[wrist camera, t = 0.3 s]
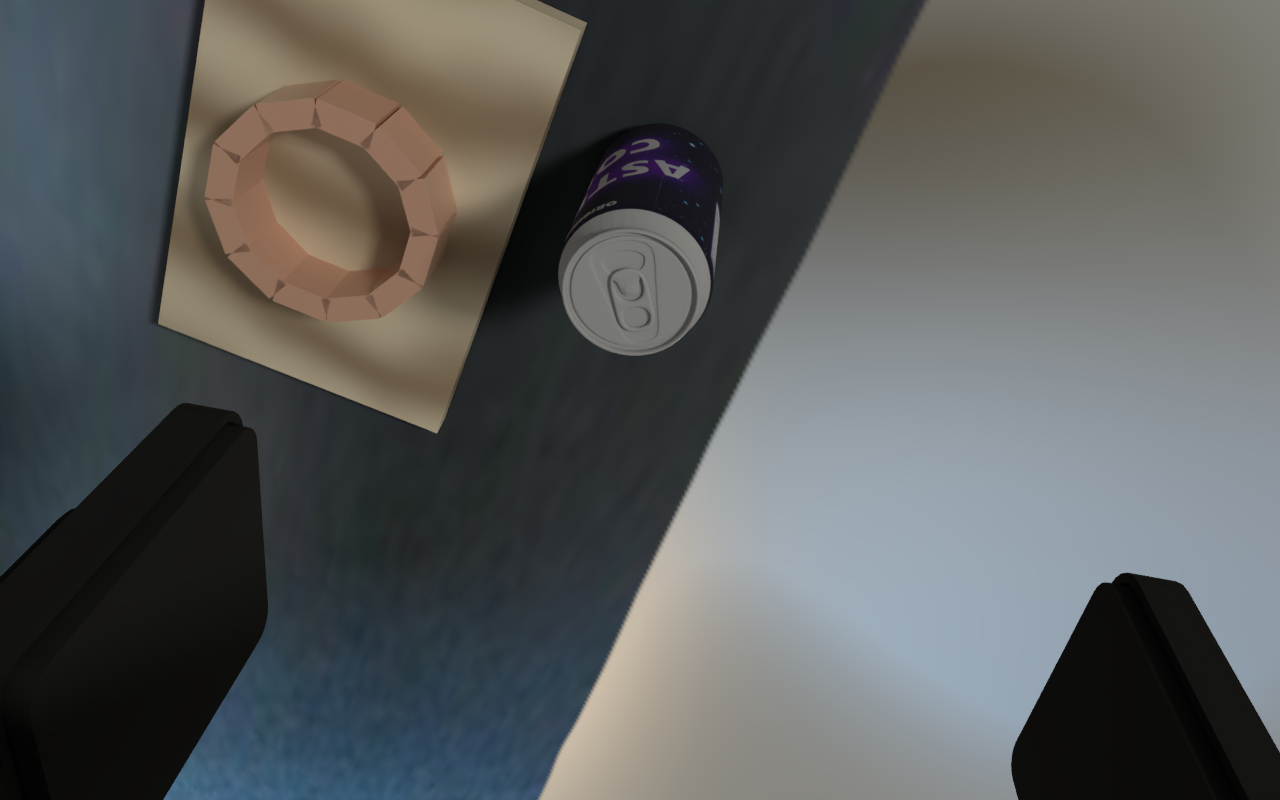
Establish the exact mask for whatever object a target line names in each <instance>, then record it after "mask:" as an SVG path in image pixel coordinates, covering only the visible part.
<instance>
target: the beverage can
mask: <svg viewBox="0 0 1280 800" xmlns="http://www.w3.org/2000/svg"><path fill="white" fill-rule="evenodd" d="M722 195H723V178H722V173H721V169H720V166H719V164H718V161H717V159H716V157H715V156H714V154H713V152H712V151H711V150H710V148H709V147H708V146H707V145H706V144H705V143H704V142H703V141H702V140H701V139H700V138H698V137H697V136H696V135H694V134H693V133H691V132H689V131H687V130H685V129H683V128H680V127H677V126H674V125H669V124H647V125H642V126H639V127H636V128H633V129H631V130H629V131H627V132H625V133H624V134H622V135H621V136H619V137H618V138H617V139H616V140H615V141H614V142H613V143H612V144H611V145H610V146H609V147H608V149H607V150H606V152H605V153H604V155H603V157H602V159H601V161H600V163H599V166H598V168H597V170H596V172H595V175H594V177H593V179H592V181H591V184H590V186H589V188H588V190H587V193H586V195H585V197H584V199H583V201H582V204H581V206H580V208H579V210H578V213H577V215H576V217H575V219H574V222H573V224H572V226H571V228H570V231H569V233H568V235H567V237H566V240H565V242H564V244H563V246H562V249H561V252H560V255H559V259H558V265H557V281H558V287H559V291H560V294H561V297H562V299H563V303H564V306H565V309H566V312H567V314H568V316H569V318H570V320H571V322H572V323H573V325H574V326H575V327H576V329H577V330H578V331H579V332H580V333H581V334H582V335H583V336H584V337H585V338H587V339H588V340H589V341H590V342H592V343H593V344H595V345H597V346H599V347H600V348H602V349H605V350H607V351H610V352H613V353H617V354H621V355H630V356H637V355H647V354H653V353H656V352H659V351H662V350H664V349H666V348H668V347H670V346H672V345H673V344H674V343H676V342H677V341H679V340H680V339H681V338H682V337H683V336H684V335H685V334H686V333H687V332H688V331H690V330H691V329H692V328H693V327H694V326H695V325H696V324H697V323H698V321H699V320H700V319H701V317H702V316H703V314H704V313H705V311H706V309H707V307H708V304H709V302H710V299H711V295H712V289H713V280H714V271H715V261H716V252H717V242H718V233H719V224H720V214H721V205H722Z"/></svg>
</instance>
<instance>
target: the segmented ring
mask: <svg viewBox="0 0 1280 800" xmlns="http://www.w3.org/2000/svg"><path fill="white" fill-rule="evenodd" d="M398 107H399V103H397V102H395V101H392V100H390V99H388V98H385V97H383V96H381V95H378V94H376V93H374V92H371V91H369V90H367V89H364V88H362V87H360V86H357V85H355V84H353V83H351V82H348V81H346V80H343V81H340V79H336V80H328V81H320V82H311V83H303V84H294V85H286V86H284V87H282V88H280V89H279V90H277V91H275V92H274V93H272V94H271V95H269V96H267V97H266V98H264V99H262V100H261V101H259V102H258V103H256V104H254V105H253V106H251V107H250V108H249V109H248V110H247V111H246V112H245V113H244V114H243V115H242V116H241V117H240V118H239V119H238V120H237V121H236V122H235V123H233V124H232V125H231V126H230V127H229V128H228V129H227V130H226V131H225V132H224V133H223V134H222V135H221V136H220V137H219V138H218V139H217V140H216V141H215V142H216V143H215V144H213V148H212V154H211V160H210V166H209V172H208V178H207V185H206V191H205V197H207V198H208V199H206V200H205V202H206V204H207V207H208V210H209V212H210V215H211V217H212V220H213V223H214V225H215V228H216V231H217V233H218V236H219V238H220V241H221V244H222V246H223V249H224V252H225V254H228V253H232V254H231V255H229V256H228V258H229V259H230V260H231V261H232V262H233V263H234V264H235V265H236V266H237V267H238V268H239V269H240V270H241V271H242V272H243V273H244V274H245V275H246V276H247V277H248V278H249V279H250V280H251V281H252V282H253V283H254V284H255V285H256V286H257V287H258V288H259V289H260V290H261V291H262V292H263V293H264V294H265V295H266V296H267V297H268V298H269V299H270V298H271V297H272V296H273V295H274V297H273V301H274V302H277V303H279V304H282V305H284V306H287V307H289V308H292V309H294V310H297V311H299V312H302V313H304V314H307V315H309V316H312V317H314V318H317V319H319V320H322V321H324V322H325V321H326V320H327V319H328V322H342V321H355V320H369V319H380V318H381V316H382V317H384V316H386V315H387V314H388V313H390V312H391V311H392V310H394V309H395V308H397V307H398V306H399V305H401V304H402V303H403V302H405V301H406V300H407V299H409V298H410V297H411V296H413V295H414V294H415V293H417V292H418V291H419V290H421V289H422V287H423V286H424V285H425V283H426V282H427V280H428V279H429V277H430V276H431V274H432V273H433V272H434V270H435V269H436V267H437V266H438V264H439V263H440V261H441V260H442V258H443V255H444V252H445V249H446V246H447V242H448V239H449V236H450V233H451V230H452V227H453V224H454V221H455V218H456V214H457V213H456V210H457V207H456V203H455V199H454V195H453V191H452V186H451V182H450V178H449V174H448V170H447V166H446V162H445V158H444V156H439V155H440V154H441V153H442V151H441V150H440V149H439V148H438V147H437V146H436V144H435V143H434V142H433V141H432V140H431V139H430V137H429V136H428V135H427V134H426V133H425V132H424V130H423V129H422V128H421V127H420V126H419V125H418V123H417V122H416V121H415V120H414V119H413V117H412V116H411V115H410V114H409V113H408V112H407V110H406V109H405V108H404V107H403V106H402V107H401V108H400V109H399V110H398ZM397 110H398V111H397ZM309 128H318V129H321V130H323V131H325V132H328V133H330V134H332V135H335V136H337V137H339V138H342V139H344V140H347V141H349V142H351V143H354V144H356V145H358V146H361V147H363V148H364V149H365V150H366V151H367V152H368V153H369V154H370V155H371V156H372V158H373V159H374V160H375V161H376V162H377V163H378V164H379V165H380V167H381V168H382V169H383V170H384V171H385V172H386V173H387V174H388V176H389V177H390V178H391V179H392V180H393V181H394V182H395V183H396V185H397V186H398V187H399V191H400V195H401V198H402V202H403V206H404V209H405V213H406V217H407V220H408V224H409V228H410V236H409V239H408V243H407V246H406V249H405V253H404V256H403V258H401V259H400V260H399V261H398V262H396V263H395V264H394V265H392V266H391V267H390V268H380V269H369V270H357V271H348V270H345V269H343V268H341V267H338V266H336V265H333V264H331V263H328V262H326V261H323V260H321V259H318V258H316V257H314V256H311V255H309V254H308V253H307V252H306V251H305V250H304V249H303V248H302V247H301V246H300V245H299V244H298V243H297V242H296V241H295V240H294V239H293V238H292V237H291V236H290V235H289V234H288V233H287V232H286V230H285V229H284V228H283V227H282V226H281V225H280V224H279V223H278V222H277V220H276V218H275V215H274V212H273V209H272V206H271V203H270V200H269V197H268V194H267V191H266V189H265V186H264V183H263V180H262V179H263V174H264V169H265V164H266V159H267V154H268V149H269V144H270V139H271V138H272V137H274V136H275V135H276V134H277V133H278V132H282V131H291V130H300V129H309Z"/></svg>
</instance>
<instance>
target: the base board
mask: <svg viewBox="0 0 1280 800" xmlns="http://www.w3.org/2000/svg"><path fill="white" fill-rule="evenodd" d="M586 24H587V23H586V22H584V21H582V20H579V19H577V18H575V17H573V16H571V15H568V14H566V13H564V12H562V11H560V10H557V9H555V8H553V7H551V6H548V5H546V4H544V3H542V2H540V1H537V0H205V5H204V12H203V19H202V25H201V32H200V39H199V46H198V53H197V60H196V67H195V74H194V80H193V87H192V94H191V101H190V108H189V115H188V122H187V129H186V135H185V142H184V149H183V156H182V163H181V170H180V177H179V184H178V190H177V197H176V204H175V211H174V218H173V225H172V232H171V239H170V245H169V252H168V259H167V266H166V273H165V280H164V287H163V294H162V300H161V307H160V314H159V321H158V324H160V325H162V326H165V327H167V328H170V329H172V330H175V331H177V332H180V333H183V334H185V335H188V336H190V337H193V338H195V339H198V340H200V341H203V342H206V343H208V344H211V345H213V346H216V347H218V348H221V349H223V350H226V351H228V352H231V353H234V354H236V355H239V356H241V357H244V358H246V359H249V360H251V361H254V362H257V363H259V364H262V365H264V366H267V367H269V368H272V369H274V370H277V371H279V372H282V373H285V374H287V375H290V376H292V377H295V378H297V379H300V380H302V381H305V382H307V383H310V384H313V385H315V386H318V387H320V388H323V389H325V390H328V391H330V392H333V393H336V394H338V395H341V396H343V397H346V398H348V399H351V400H353V401H356V402H358V403H361V404H364V405H366V406H369V407H371V408H374V409H376V410H379V411H381V412H384V413H387V414H389V415H392V416H394V417H397V418H399V419H402V420H404V421H407V422H409V423H412V424H415V425H417V426H420V427H422V428H425V429H427V430H430V431H432V432H435V433H437V432H438V431H439V429H440V427H441V425H442V423H443V421H444V419H445V416H446V414H447V411H448V408H449V405H450V402H451V400H452V397H453V394H454V391H455V389H456V386H457V383H458V380H459V377H460V375H461V372H462V369H463V366H464V364H465V361H466V358H467V355H468V352H469V350H470V347H471V344H472V341H473V339H474V336H475V333H476V330H477V327H478V325H479V322H480V319H481V316H482V314H483V311H484V308H485V305H486V302H487V300H488V297H489V294H490V291H491V288H492V286H493V283H494V280H495V277H496V275H497V272H498V269H499V266H500V263H501V261H502V258H503V255H504V252H505V250H506V247H507V244H508V241H509V238H510V236H511V233H512V230H513V227H514V225H515V222H516V219H517V216H518V213H519V211H520V208H521V205H522V202H523V199H524V197H525V194H526V191H527V188H528V186H529V183H530V180H531V177H532V174H533V172H534V169H535V166H536V163H537V161H538V158H539V155H540V152H541V149H542V147H543V144H544V141H545V138H546V136H547V133H548V130H549V127H550V124H551V122H552V119H553V116H554V113H555V110H556V108H557V105H558V102H559V99H560V97H561V94H562V91H563V88H564V85H565V83H566V80H567V77H568V74H569V72H570V69H571V66H572V63H573V60H574V58H575V55H576V52H577V49H578V47H579V44H580V41H581V38H582V35H583V33H584V30H585V27H586ZM336 79H340V81H343V80H346V81H348V82H351V83H353V84H355V85H357V86H360V87H362V88H364V89H367V90H369V91H371V92H374V93H376V94H378V95H381V96H383V97H385V98H388V99H390V100H392V101H395V102H397V103H399V107H398V110H399V109H400V108H401V107H402V106H403V107H404V108H405V109H406V110H407V112H408V113H409V114H410V115H411V116H412V117H413V119H414V120H415V121H416V122H417V123H418V125H419V126H420V127H421V128H422V129H423V130H424V132H425V133H426V134H427V135H428V136H429V137H430V139H431V140H432V141H433V142H434V143H435V144H436V146H437V147H438V148H439V149H440V150H441V151H442V153H441V154H440V155H439V156H444V158H445V162H446V166H447V170H448V174H449V178H450V182H451V186H452V191H453V195H454V199H455V203H456V207H457V210H456V213H457V214H456V218H455V221H454V224H453V227H452V230H451V233H450V236H449V239H448V242H447V246H446V249H445V252H444V255H443V258H442V260H441V261H440V263H439V264H438V266H437V267H436V269H435V270H434V272H433V273H432V274H431V276H430V277H429V279H428V280H427V282H426V283H425V285H424V286H423V287H422V289H421V290H419V291H418V292H417V293H415V294H414V295H413V296H411V297H410V298H409V299H407V300H406V301H405V302H403V303H402V304H401V305H399V306H398V307H397V308H395V309H394V310H392V311H391V312H390V313H388V314H387V315H386V316H384V317H382V316H381V318H380V319H369V320H355V321H342V322H328V319H327V320H326V321H325V322H324V321H322V320H319V319H317V318H314V317H312V316H309V315H307V314H304V313H302V312H299V311H297V310H294V309H292V308H289V307H287V306H284V305H282V304H279V303H277V302H274V301H273V297H274V295H273V296H272V297H271V298H270V299H269V298H268V297H267V296H266V295H265V294H264V293H263V292H262V291H261V290H260V289H259V288H258V287H257V286H256V285H255V284H254V283H253V282H252V281H251V280H250V279H249V278H248V277H247V276H246V275H245V274H244V273H243V272H242V271H241V270H240V269H239V268H238V267H237V266H236V265H235V264H234V263H233V262H232V261H231V260H230V259H229V258H228V256H229V255H231V254H232V253H228V254H225V252H224V249H223V246H222V244H221V241H220V238H219V236H218V233H217V231H216V228H215V225H214V223H213V220H212V217H211V215H210V212H209V210H208V207H207V204H206V202H205V200H206V199H208V198H207V197H205V191H206V185H207V178H208V172H209V166H210V160H211V154H212V148H213V144H215V143H216V142H215V141H216V140H217V139H218V138H219V137H220V136H221V135H222V134H223V133H224V132H225V131H226V130H227V129H228V128H229V127H230V126H231V125H232V124H233V123H235V122H236V121H237V120H238V119H239V118H240V117H241V116H242V115H243V114H244V113H245V112H246V111H247V110H248V109H249V108H250V107H251V106H253V105H254V104H256V103H258V102H259V101H261V100H262V99H264V98H266V97H267V96H269V95H271V94H272V93H274V92H275V91H277V90H279V89H280V88H282V87H284V86H286V85H294V84H303V83H311V82H320V81H328V80H336ZM398 110H397V111H398ZM262 180H263V183H264V186H265V189H266V191H267V194H268V197H269V200H270V203H271V206H272V209H273V212H274V215H275V218H276V220H277V222H278V223H279V224H280V225H281V226H282V227H283V228H284V229H285V230H286V232H287V233H288V234H289V235H290V236H291V237H292V238H293V239H294V240H295V241H296V242H297V243H298V244H299V245H300V246H301V247H302V248H303V249H304V250H305V251H306V252H307V253H308V254H309V255H311V256H314V257H316V258H318V259H321V260H323V261H326V262H328V263H331V264H333V265H336V266H338V267H341V268H343V269H345V270H348V271H357V270H369V269H380V268H390V267H391V266H392V265H394V264H395V263H396V262H398V261H399V260H400V259H401V258H403V256H404V253H405V249H406V246H407V243H408V239H409V236H410V228H409V224H408V220H407V217H406V213H405V209H404V206H403V202H402V198H401V195H400V191H399V187H398V186H397V185H396V183H395V182H394V181H393V180H392V179H391V178H390V177H389V176H388V174H387V173H386V172H385V171H384V170H383V169H382V168H381V167H380V165H379V164H378V163H377V162H376V161H375V160H374V159H373V158H372V156H371V155H370V154H369V153H368V152H367V151H366V150H365V149H364V148H363V147H361V146H358V145H356V144H354V143H351V142H349V141H347V140H344V139H342V138H339V137H337V136H335V135H332V134H330V133H328V132H325V131H323V130H321V129H318V128H309V129H300V130H291V131H282V132H278V133H277V134H276V135H275V136H274V137H272V138H271V139H270V144H269V149H268V154H267V159H266V164H265V169H264V174H263V179H262Z"/></svg>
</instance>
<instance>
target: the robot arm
mask: <svg viewBox="0 0 1280 800" xmlns="http://www.w3.org/2000/svg"><path fill="white" fill-rule="evenodd" d="M267 614H268V600H267V585H266V570H265V555H264V540H263V525H262V510H261V494H260V479H259V464H258V449H257V438H256V434H255V432H254V430H253V429H251V428H248V427H243V424H242V420H241V418H240V416H239V414H237V413H236V412H234V411H228V410H223V409H217V408H212V407H206V406H201V405H195V404H189V403H183V404H180V405H178V406H177V407H176V408H174V409H173V410H172V411H171V412H170V413H169V414H168V415H167V416H166V417H165V418H164V419H163V420H162V421H161V423H160V424H159V425H158V426H157V427H156V428H155V429H154V430H153V431H152V432H151V433H150V434H149V435H148V436H147V437H146V438H145V439H144V440H143V441H142V442H141V443H140V444H139V445H138V446H137V447H136V448H135V449H134V450H133V451H132V452H131V453H130V454H129V455H128V456H127V457H126V458H125V459H124V460H123V461H122V462H121V463H120V464H119V465H118V466H117V467H116V468H115V469H114V470H113V471H112V472H111V473H110V474H109V475H108V476H107V477H106V478H105V479H104V480H103V481H102V482H101V483H100V484H99V485H98V486H97V487H96V488H95V489H94V490H93V491H92V492H91V493H90V494H89V495H88V496H87V497H86V498H85V499H84V500H83V501H82V502H81V503H80V504H79V505H78V506H77V507H76V508H75V509H71V510H69V511H68V512H67V513H65V514H64V515H63V516H62V517H60V518H59V519H58V520H57V521H56V522H55V523H54V524H53V525H52V526H51V527H50V528H49V529H48V530H47V531H46V532H45V533H44V534H43V535H42V536H41V537H40V538H39V539H38V540H37V541H36V542H35V543H34V544H33V545H32V546H31V547H30V548H29V549H28V550H27V551H26V552H25V553H24V554H23V555H22V556H21V557H20V558H19V559H18V560H17V561H16V562H15V563H14V564H13V565H12V566H11V567H10V568H9V569H8V570H7V571H6V572H5V573H4V574H3V575H2V576H1V577H0V800H163V799H164V797H165V796H166V794H167V792H168V791H169V789H170V787H171V786H172V784H173V783H174V781H175V779H176V778H177V776H178V774H179V773H180V771H181V769H182V768H183V766H184V764H185V763H186V761H187V759H188V758H189V756H190V754H191V753H192V751H193V749H194V748H195V746H196V744H197V743H198V741H199V739H200V738H201V736H202V735H203V733H204V731H205V730H206V728H207V726H208V725H209V723H210V721H211V720H212V718H213V716H214V715H215V713H216V711H217V710H218V708H219V706H220V705H221V703H222V701H223V700H224V698H225V696H226V695H227V693H228V691H229V690H230V688H231V687H232V685H233V683H234V682H235V680H236V678H237V677H238V675H239V673H240V672H241V670H242V668H243V667H244V665H245V663H246V662H247V660H248V658H249V657H250V655H251V653H252V652H253V650H254V648H255V647H256V645H257V643H258V642H259V640H260V638H261V636H262V633H263V631H264V628H265V624H266V620H267ZM1011 768H1012V777H1013V781H1014V785H1015V789H1016V793H1017V796H1018V799H1019V800H1280V752H1279V750H1278V749H1277V747H1276V745H1275V743H1274V742H1273V740H1272V738H1271V736H1270V735H1269V733H1268V731H1267V729H1266V728H1265V726H1264V724H1263V722H1262V721H1261V719H1260V717H1259V715H1258V713H1257V712H1256V710H1255V708H1254V706H1253V705H1252V703H1251V701H1250V699H1249V698H1248V696H1247V694H1246V692H1245V691H1244V689H1243V687H1242V685H1241V684H1240V682H1239V680H1238V678H1237V676H1236V675H1235V673H1234V671H1233V670H1232V668H1231V666H1230V664H1229V662H1228V661H1227V659H1226V657H1225V655H1224V654H1223V652H1222V650H1221V648H1220V647H1219V645H1218V643H1217V641H1216V640H1215V638H1214V636H1213V634H1212V633H1211V631H1210V629H1209V627H1208V626H1207V624H1206V622H1205V620H1204V618H1203V617H1202V615H1201V613H1200V611H1199V610H1198V608H1197V606H1196V604H1195V603H1194V601H1193V599H1192V597H1191V596H1190V594H1189V592H1188V591H1187V590H1186V588H1185V587H1184V586H1183V585H1182V584H1180V583H1178V582H1176V581H1171V580H1165V579H1160V578H1154V577H1149V576H1143V575H1138V574H1132V573H1122V574H1120V575H1119V576H1118V577H1116V578H1115V579H1114V581H1113V582H1112V583H1101V584H1100V585H1099V586H1098V587H1097V588H1096V590H1095V591H1094V593H1093V595H1092V597H1091V599H1090V600H1089V602H1088V604H1087V606H1086V608H1085V610H1084V612H1083V614H1082V616H1081V618H1080V620H1079V622H1078V624H1077V625H1076V627H1075V630H1074V631H1073V633H1072V635H1071V637H1070V639H1069V641H1068V643H1067V645H1066V647H1065V649H1064V651H1063V652H1062V655H1061V656H1060V658H1059V660H1058V662H1057V664H1056V666H1055V668H1054V670H1053V672H1052V674H1051V676H1050V678H1049V679H1048V681H1047V683H1046V685H1045V687H1044V689H1043V691H1042V693H1041V695H1040V697H1039V699H1038V701H1037V703H1036V705H1035V707H1034V708H1033V710H1032V712H1031V714H1030V716H1029V718H1028V720H1027V722H1026V724H1025V726H1024V728H1023V730H1022V731H1021V733H1020V735H1019V737H1018V739H1017V741H1016V743H1015V746H1014V749H1013V754H1012V762H1011Z"/></svg>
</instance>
